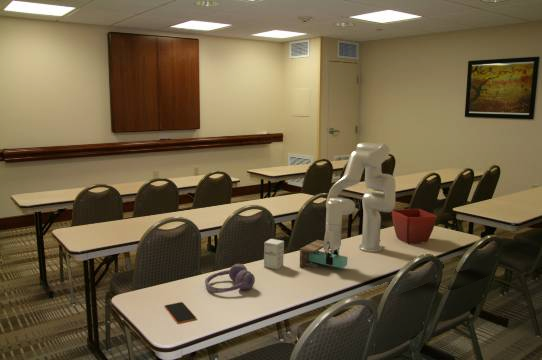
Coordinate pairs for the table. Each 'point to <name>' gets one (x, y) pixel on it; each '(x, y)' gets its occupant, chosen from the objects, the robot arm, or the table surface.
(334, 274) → the table surface
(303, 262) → the overhang shelf
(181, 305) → the smartphone
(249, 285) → the headphones
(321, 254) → the teal flat plank
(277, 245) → the supplement box
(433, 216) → the plant pot
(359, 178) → the robot arm
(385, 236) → the table surface
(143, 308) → the table surface
